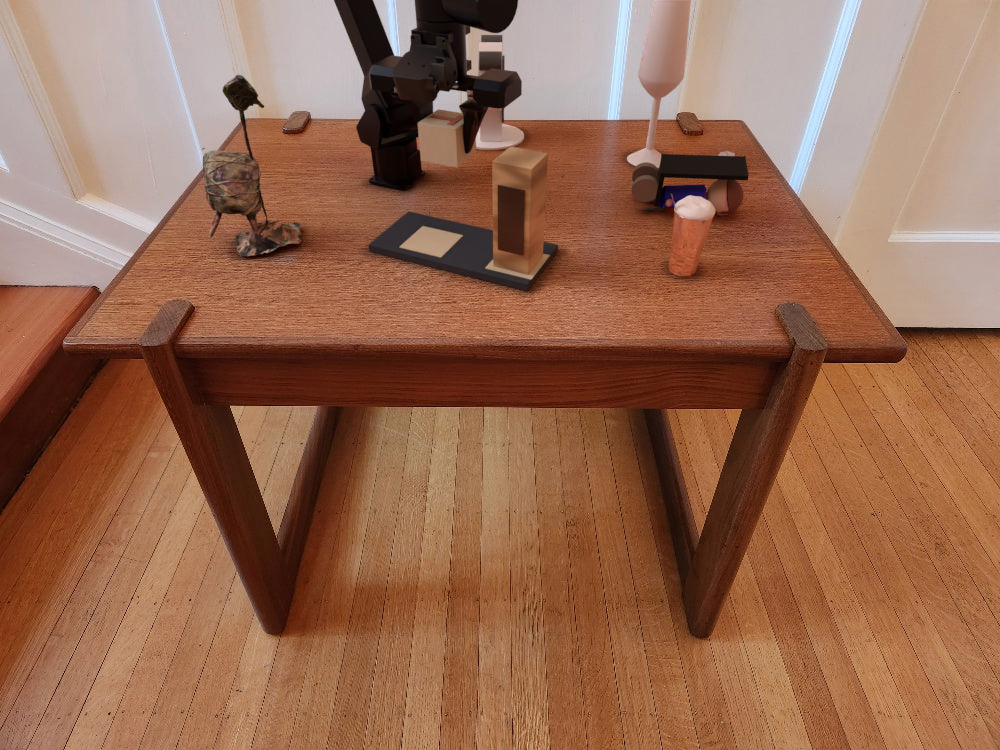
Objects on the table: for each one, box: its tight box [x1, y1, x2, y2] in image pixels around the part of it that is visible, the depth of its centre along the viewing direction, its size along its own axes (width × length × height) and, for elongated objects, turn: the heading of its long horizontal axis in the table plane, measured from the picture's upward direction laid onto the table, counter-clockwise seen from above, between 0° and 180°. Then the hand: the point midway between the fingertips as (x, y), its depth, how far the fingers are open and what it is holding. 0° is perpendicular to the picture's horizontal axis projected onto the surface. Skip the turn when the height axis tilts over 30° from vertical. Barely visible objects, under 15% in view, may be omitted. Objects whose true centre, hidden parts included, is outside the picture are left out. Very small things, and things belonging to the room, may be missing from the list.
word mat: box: [367, 211, 559, 292], centre depth 81 cm, size 22×10×1 cm, turn 65°
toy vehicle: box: [631, 153, 750, 216], centre depth 88 cm, size 7×8×15 cm
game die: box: [716, 150, 736, 156], centre depth 99 cm, size 4×4×3 cm
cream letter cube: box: [418, 108, 477, 169], centre depth 84 cm, size 6×6×5 cm
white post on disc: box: [476, 34, 525, 151], centre depth 105 cm, size 12×11×15 cm
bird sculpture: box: [201, 74, 304, 258], centre depth 77 cm, size 8×11×20 cm
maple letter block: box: [491, 146, 549, 275], centre depth 73 cm, size 5×5×13 cm
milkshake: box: [668, 194, 716, 277], centre depth 75 cm, size 4×5×10 cm
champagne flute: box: [626, 0, 692, 169], centre depth 95 cm, size 7×7×24 cm
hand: (448, 149), depth 85 cm, fingers closed on cream letter cube, 5 cm apart
